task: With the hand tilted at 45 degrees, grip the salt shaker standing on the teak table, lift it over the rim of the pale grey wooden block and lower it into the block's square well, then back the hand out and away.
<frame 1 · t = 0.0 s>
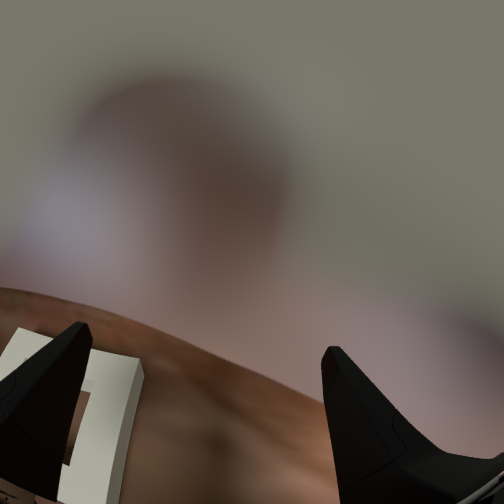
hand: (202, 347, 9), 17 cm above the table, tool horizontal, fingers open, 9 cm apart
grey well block: (54, 420, 17), on the table
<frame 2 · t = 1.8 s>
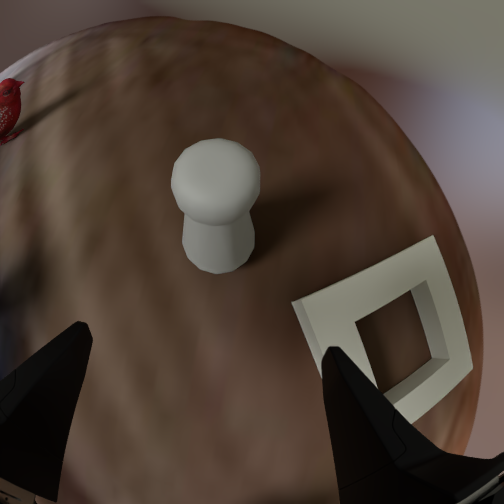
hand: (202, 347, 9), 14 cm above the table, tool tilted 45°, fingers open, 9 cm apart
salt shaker: (218, 246, 24), on the table
decorative bird figurine: (3, 145, 25), on the table
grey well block: (391, 343, 24), on the table
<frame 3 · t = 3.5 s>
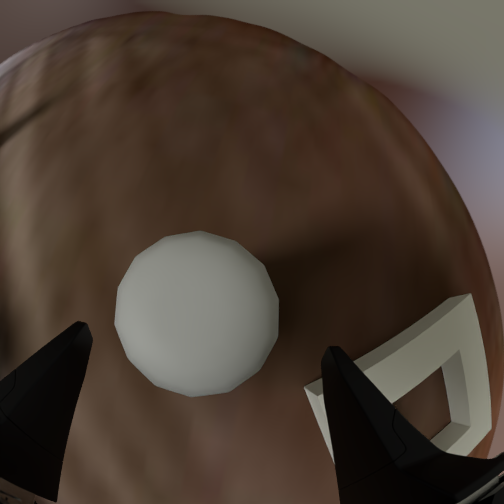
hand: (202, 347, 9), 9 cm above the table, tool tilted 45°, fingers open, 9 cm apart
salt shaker: (213, 319, 19), on the table
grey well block: (412, 415, 18), on the table
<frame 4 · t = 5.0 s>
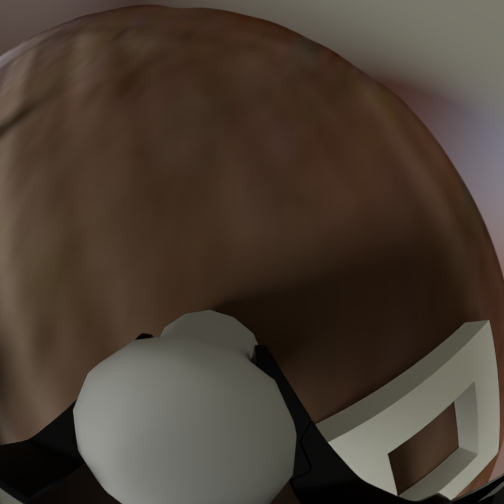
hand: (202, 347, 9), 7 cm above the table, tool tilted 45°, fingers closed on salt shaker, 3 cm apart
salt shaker: (209, 358, 16), on the table, touching gripper
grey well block: (421, 445, 15), on the table
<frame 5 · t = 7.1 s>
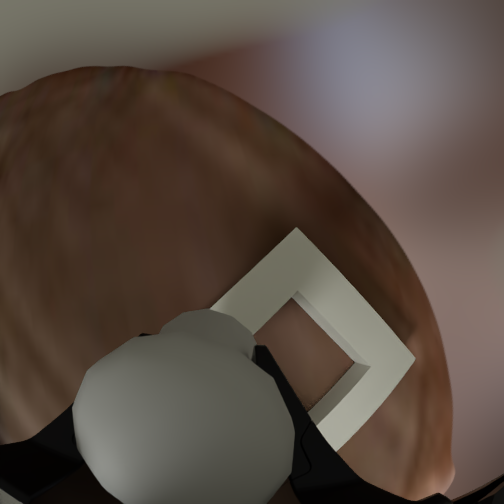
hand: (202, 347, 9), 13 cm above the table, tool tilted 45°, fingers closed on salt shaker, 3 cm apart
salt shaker: (207, 357, 16), point 6 cm above the table, touching gripper
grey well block: (287, 367, 22), on the table
when the fingers open (8 cm above the table, at t = 9.1 s): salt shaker drops 1 cm, resting in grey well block.
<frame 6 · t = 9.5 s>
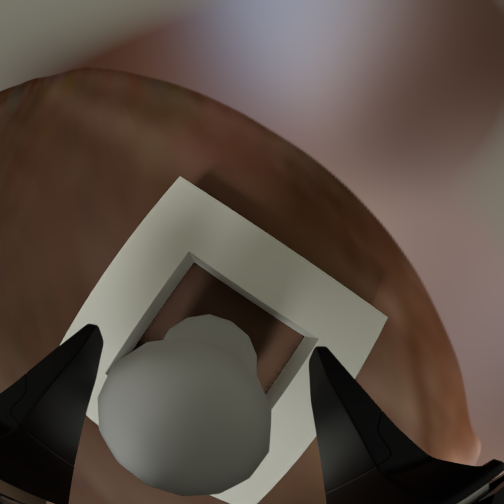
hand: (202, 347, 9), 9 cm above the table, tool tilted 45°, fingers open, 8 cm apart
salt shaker: (209, 358, 17), resting in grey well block
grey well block: (211, 355, 17), on the table
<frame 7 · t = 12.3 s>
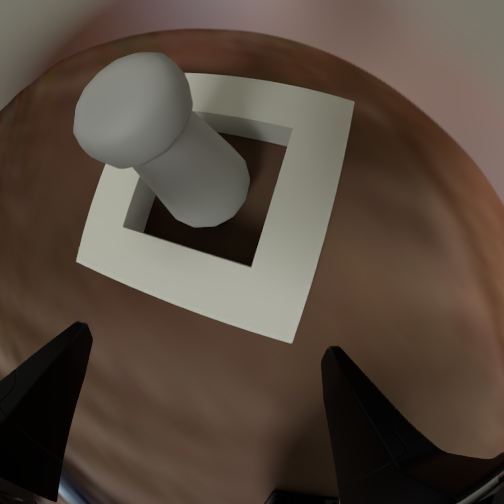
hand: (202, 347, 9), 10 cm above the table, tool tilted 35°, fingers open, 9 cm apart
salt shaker: (214, 193, 20), resting in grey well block
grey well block: (214, 189, 19), on the table
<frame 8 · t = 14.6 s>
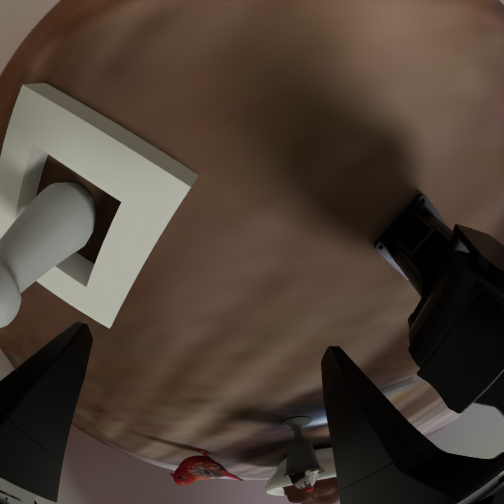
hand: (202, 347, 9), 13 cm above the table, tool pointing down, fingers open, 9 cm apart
sundae: (296, 421, 40), on the table
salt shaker: (78, 205, 20), resting in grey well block
decorative bird figurine: (210, 450, 48), on the table
bowl of chocolate pudding: (315, 452, 52), on the table
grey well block: (74, 205, 20), on the table
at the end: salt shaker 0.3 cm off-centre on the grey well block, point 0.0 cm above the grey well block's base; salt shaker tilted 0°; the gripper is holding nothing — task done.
